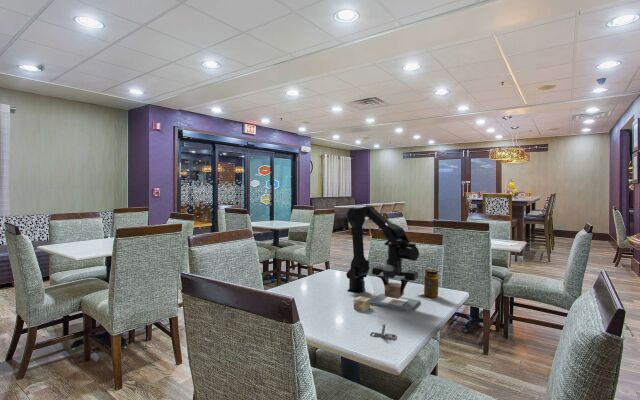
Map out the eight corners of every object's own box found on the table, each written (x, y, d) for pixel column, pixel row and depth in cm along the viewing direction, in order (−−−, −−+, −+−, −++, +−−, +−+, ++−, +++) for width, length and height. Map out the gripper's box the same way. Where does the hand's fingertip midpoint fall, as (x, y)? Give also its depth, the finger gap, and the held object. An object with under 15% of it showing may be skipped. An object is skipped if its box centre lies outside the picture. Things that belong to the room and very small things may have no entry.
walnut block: (384, 296, 148) (384, 285, 148) (390, 292, 154) (390, 282, 154) (398, 298, 145) (398, 288, 145) (403, 294, 151) (403, 284, 151)
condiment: (442, 297, 158) (442, 271, 158) (429, 300, 154) (430, 273, 153) (429, 293, 165) (429, 268, 164) (416, 296, 160) (417, 270, 160)
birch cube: (353, 308, 143) (353, 299, 143) (359, 305, 147) (359, 296, 147) (364, 311, 140) (364, 301, 140) (370, 307, 144) (370, 298, 144)
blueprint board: (368, 304, 148) (368, 301, 148) (380, 295, 160) (381, 293, 160) (409, 312, 139) (409, 309, 139) (420, 302, 150) (420, 300, 150)
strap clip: (397, 337, 116) (397, 324, 116) (395, 341, 113) (395, 328, 113) (371, 333, 119) (372, 321, 119) (369, 336, 116) (369, 324, 116)
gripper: (366, 257, 147) (366, 294, 148) (410, 262, 137) (409, 302, 137) (377, 253, 156) (376, 287, 157) (418, 258, 146) (418, 295, 147)
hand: (394, 293), depth 149 cm, fingers closed on walnut block, 6 cm apart
